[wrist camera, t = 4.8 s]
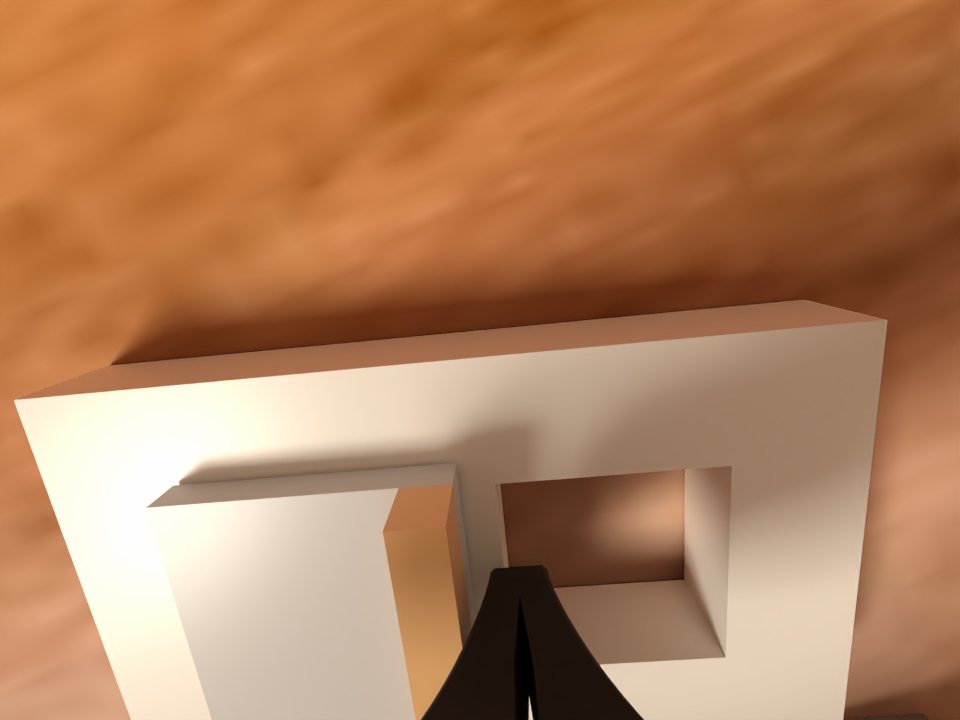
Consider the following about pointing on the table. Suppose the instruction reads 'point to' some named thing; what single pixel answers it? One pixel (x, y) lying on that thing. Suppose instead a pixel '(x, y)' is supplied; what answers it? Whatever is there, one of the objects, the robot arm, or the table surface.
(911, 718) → the plug
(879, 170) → the table surface
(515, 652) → the robot arm
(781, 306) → the socket plate
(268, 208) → the table surface
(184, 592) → the shutter
